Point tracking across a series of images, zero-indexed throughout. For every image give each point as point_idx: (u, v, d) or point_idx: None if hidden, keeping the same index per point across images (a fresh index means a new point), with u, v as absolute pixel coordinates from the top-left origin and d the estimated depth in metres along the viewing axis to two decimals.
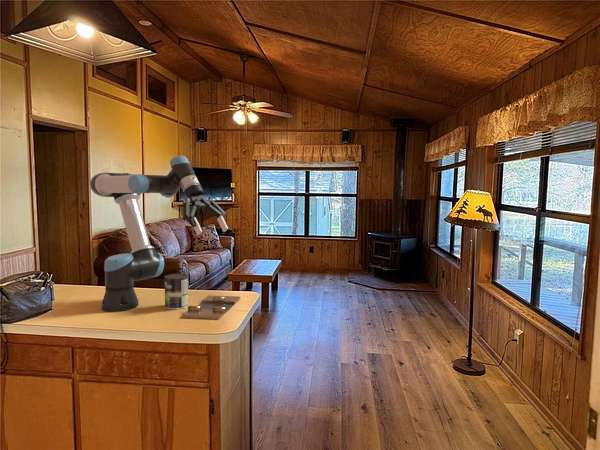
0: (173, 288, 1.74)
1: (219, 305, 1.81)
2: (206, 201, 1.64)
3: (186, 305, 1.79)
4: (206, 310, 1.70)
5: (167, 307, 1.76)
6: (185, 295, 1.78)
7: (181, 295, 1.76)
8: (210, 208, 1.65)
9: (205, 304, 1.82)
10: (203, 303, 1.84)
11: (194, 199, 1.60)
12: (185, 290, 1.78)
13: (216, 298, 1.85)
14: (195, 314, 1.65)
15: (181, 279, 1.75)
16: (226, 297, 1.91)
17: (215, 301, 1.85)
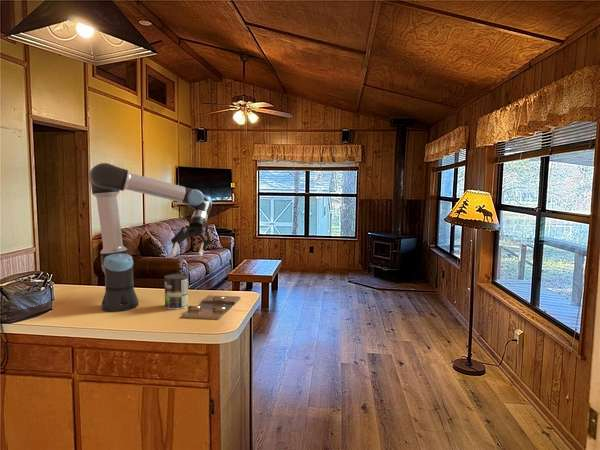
0: (173, 288, 1.74)
1: (219, 305, 1.81)
2: None
3: (186, 305, 1.79)
4: (206, 310, 1.70)
5: (167, 307, 1.76)
6: (185, 295, 1.78)
7: (181, 295, 1.76)
8: (185, 237, 1.97)
9: (205, 304, 1.82)
10: (203, 303, 1.84)
11: None
12: (185, 290, 1.78)
13: (216, 298, 1.85)
14: (195, 314, 1.65)
15: (181, 279, 1.75)
16: (226, 297, 1.91)
17: (215, 301, 1.85)
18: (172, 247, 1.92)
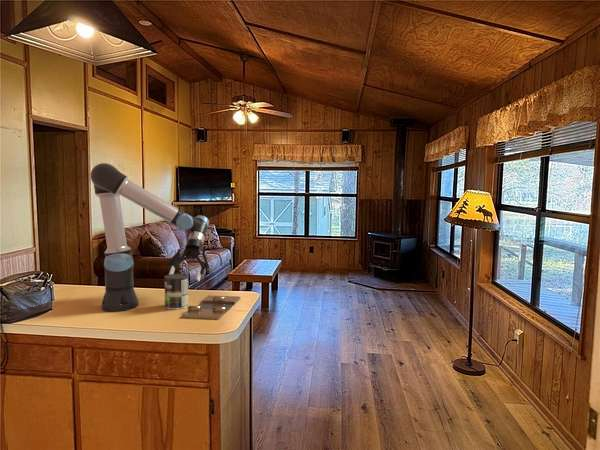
0: (173, 288, 1.74)
1: (219, 305, 1.81)
2: None
3: (186, 305, 1.79)
4: (206, 310, 1.70)
5: (167, 307, 1.76)
6: (185, 295, 1.78)
7: (181, 295, 1.76)
8: (182, 260, 1.91)
9: (205, 304, 1.82)
10: (203, 303, 1.84)
11: None
12: (185, 290, 1.78)
13: (216, 298, 1.85)
14: (195, 314, 1.65)
15: (181, 279, 1.75)
16: (226, 297, 1.91)
17: (215, 301, 1.85)
18: (168, 271, 1.87)
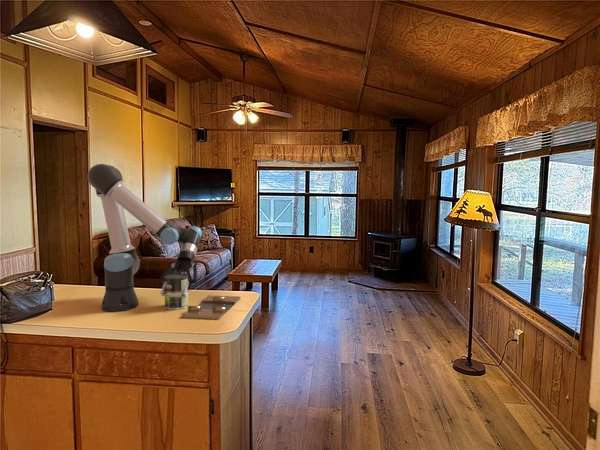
0: (173, 288, 1.74)
1: (219, 305, 1.81)
2: None
3: (186, 305, 1.79)
4: (206, 310, 1.70)
5: (167, 307, 1.76)
6: None
7: (181, 295, 1.76)
8: None
9: (205, 304, 1.82)
10: (203, 303, 1.84)
11: None
12: None
13: (216, 298, 1.85)
14: (195, 314, 1.65)
15: (181, 279, 1.75)
16: (226, 297, 1.91)
17: (215, 301, 1.85)
18: (161, 286, 1.79)
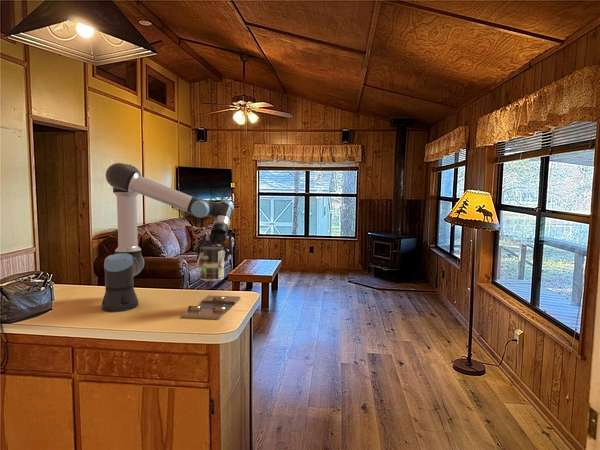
0: (210, 259, 1.72)
1: (219, 305, 1.81)
2: None
3: (222, 277, 1.76)
4: (206, 310, 1.70)
5: (203, 278, 1.73)
6: None
7: (217, 266, 1.73)
8: None
9: (205, 304, 1.82)
10: (203, 303, 1.84)
11: None
12: None
13: (216, 298, 1.85)
14: (195, 314, 1.65)
15: (218, 250, 1.73)
16: (226, 297, 1.91)
17: (215, 301, 1.85)
18: None
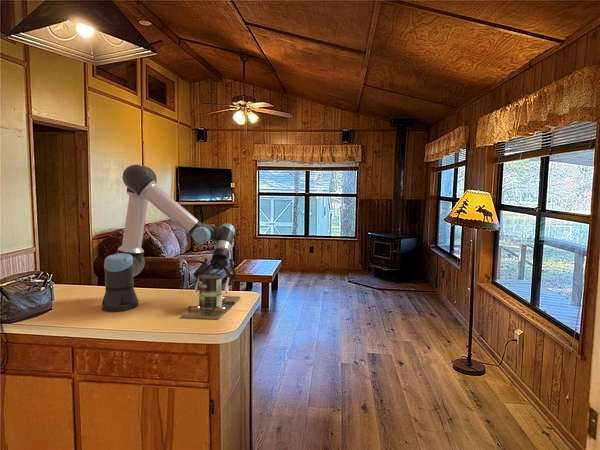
0: (209, 288, 1.73)
1: None
2: None
3: (220, 305, 1.78)
4: (206, 310, 1.70)
5: (202, 307, 1.75)
6: (220, 295, 1.77)
7: (216, 295, 1.75)
8: (208, 270, 1.83)
9: None
10: None
11: None
12: (220, 290, 1.77)
13: None
14: (195, 314, 1.65)
15: (216, 279, 1.74)
16: (226, 297, 1.91)
17: None
18: (195, 282, 1.78)
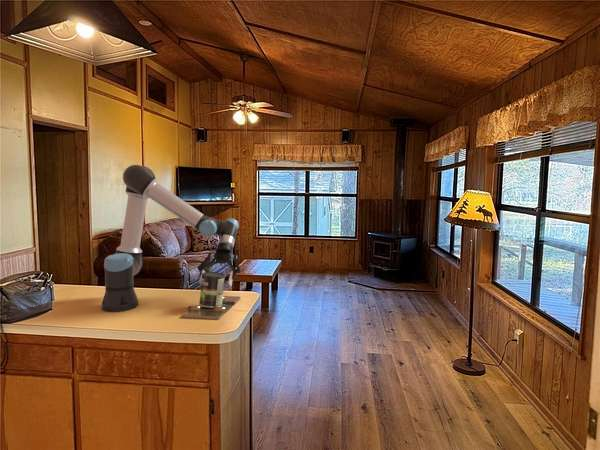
0: (210, 286, 1.74)
1: None
2: None
3: (220, 304, 1.78)
4: (206, 310, 1.70)
5: (201, 304, 1.76)
6: (220, 294, 1.77)
7: (216, 293, 1.75)
8: (212, 264, 1.86)
9: None
10: None
11: None
12: (221, 289, 1.77)
13: None
14: (195, 314, 1.65)
15: (218, 278, 1.75)
16: (226, 297, 1.91)
17: None
18: (199, 275, 1.81)
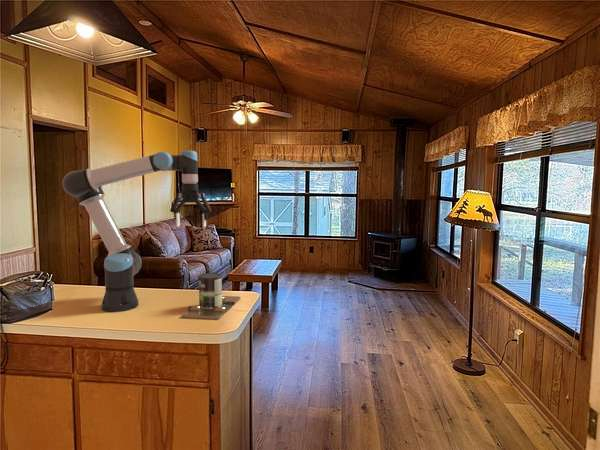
0: (207, 287, 1.74)
1: None
2: None
3: (219, 305, 1.78)
4: (206, 310, 1.70)
5: (201, 306, 1.76)
6: (218, 295, 1.77)
7: (214, 294, 1.75)
8: (183, 204, 1.95)
9: None
10: None
11: None
12: (218, 290, 1.77)
13: None
14: (195, 314, 1.65)
15: (214, 279, 1.75)
16: (226, 297, 1.91)
17: None
18: (174, 218, 1.95)
